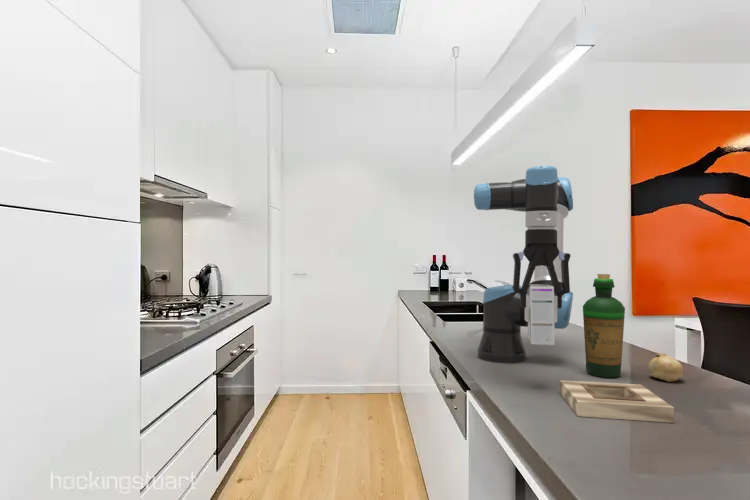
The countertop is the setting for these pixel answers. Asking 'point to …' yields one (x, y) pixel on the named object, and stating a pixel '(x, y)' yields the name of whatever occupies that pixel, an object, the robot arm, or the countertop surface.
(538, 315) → the syrup box
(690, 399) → the countertop surface
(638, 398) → the beige flat square frame
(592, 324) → the bottle
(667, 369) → the onion
